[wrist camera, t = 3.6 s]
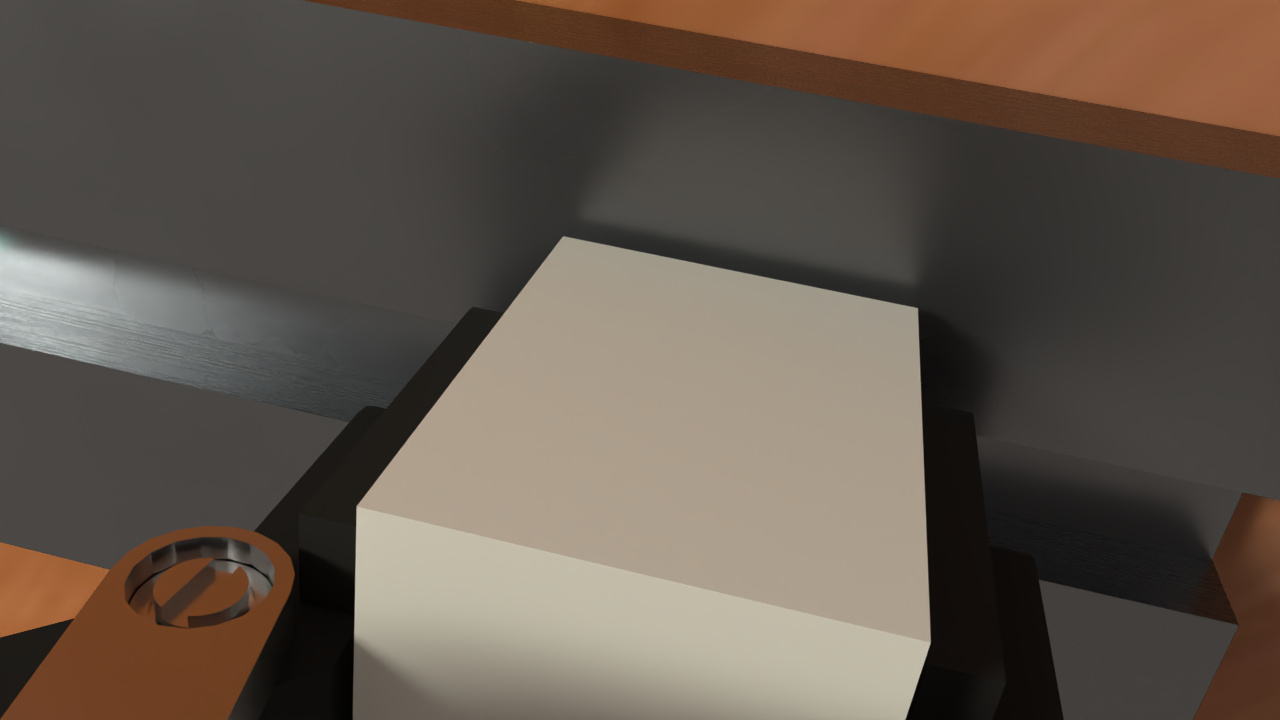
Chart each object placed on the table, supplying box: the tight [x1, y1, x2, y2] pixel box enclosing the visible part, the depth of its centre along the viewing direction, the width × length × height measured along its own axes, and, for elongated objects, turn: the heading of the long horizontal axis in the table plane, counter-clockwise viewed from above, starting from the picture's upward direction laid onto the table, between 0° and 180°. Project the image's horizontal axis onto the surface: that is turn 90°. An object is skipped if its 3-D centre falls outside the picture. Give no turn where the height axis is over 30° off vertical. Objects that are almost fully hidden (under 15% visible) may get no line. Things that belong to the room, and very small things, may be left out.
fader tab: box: [353, 236, 931, 720], centre depth 11 cm, size 4×4×6 cm
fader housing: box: [0, 0, 1280, 720], centre depth 14 cm, size 22×8×2 cm, turn 82°
